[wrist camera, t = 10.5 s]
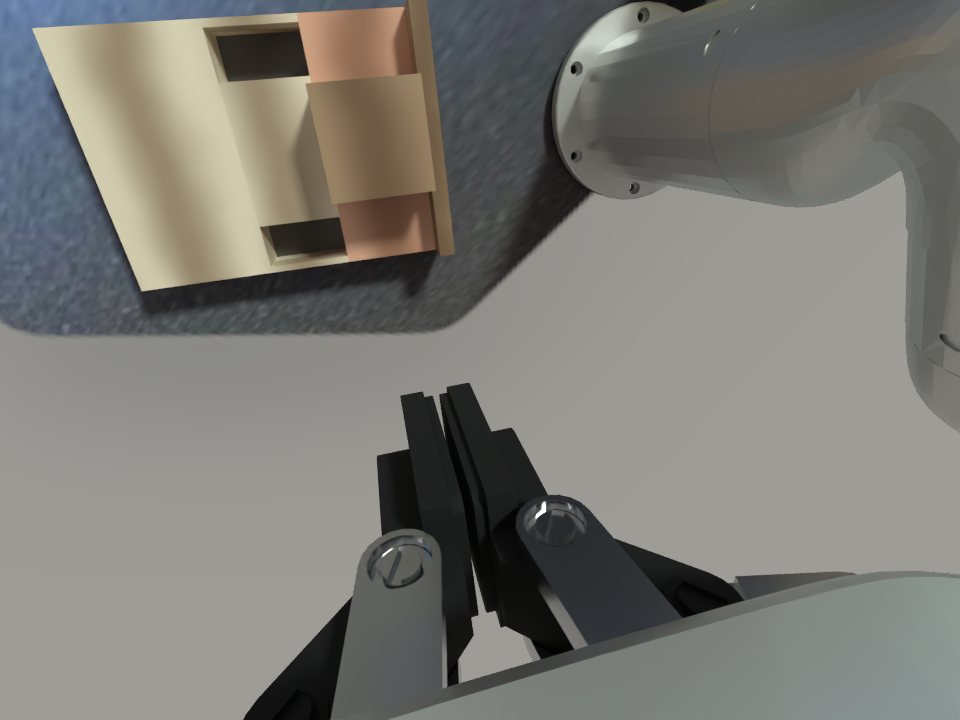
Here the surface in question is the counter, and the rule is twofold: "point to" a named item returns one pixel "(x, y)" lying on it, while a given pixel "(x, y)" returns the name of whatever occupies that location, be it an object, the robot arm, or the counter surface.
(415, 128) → the block
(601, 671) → the robot arm
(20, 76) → the counter surface
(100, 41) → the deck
